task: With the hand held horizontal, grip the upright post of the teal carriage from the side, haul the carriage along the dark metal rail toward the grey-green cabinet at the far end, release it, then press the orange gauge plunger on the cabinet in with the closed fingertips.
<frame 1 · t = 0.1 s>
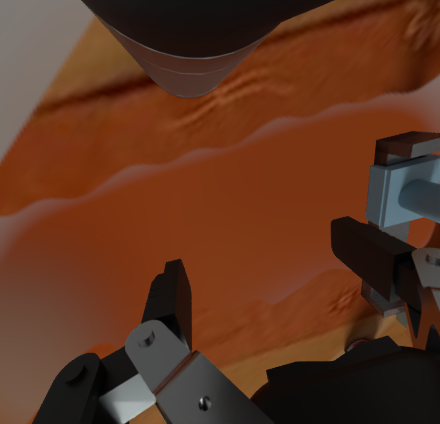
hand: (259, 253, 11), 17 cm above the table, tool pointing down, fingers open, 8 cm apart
rail: (382, 227, 34), on the table
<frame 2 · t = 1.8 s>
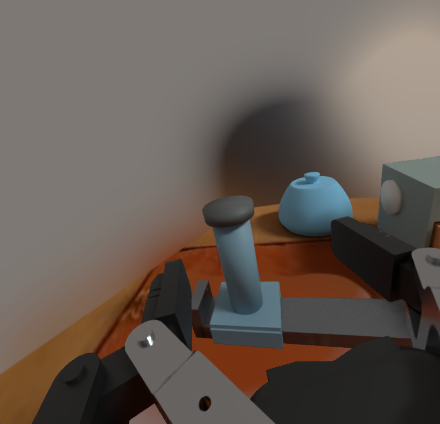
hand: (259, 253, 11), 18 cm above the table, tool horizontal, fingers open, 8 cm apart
carriage: (240, 268, 25), point 9 cm above the table, slide at 0.0 cm
sugar bowl: (313, 223, 49), on the table
rail: (307, 325, 26), on the table
cabinet: (432, 260, 32), on the table
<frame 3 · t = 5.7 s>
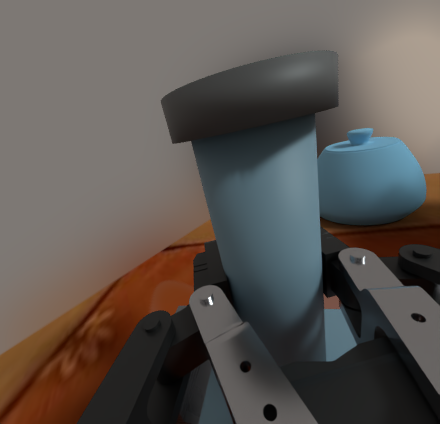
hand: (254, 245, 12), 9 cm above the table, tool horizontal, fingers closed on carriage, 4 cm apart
carriage: (273, 286, 10), point 9 cm above the table, slide at 0.0 cm, touching gripper
sugar bowl: (357, 208, 34), on the table
rail: (434, 421, 11), on the table
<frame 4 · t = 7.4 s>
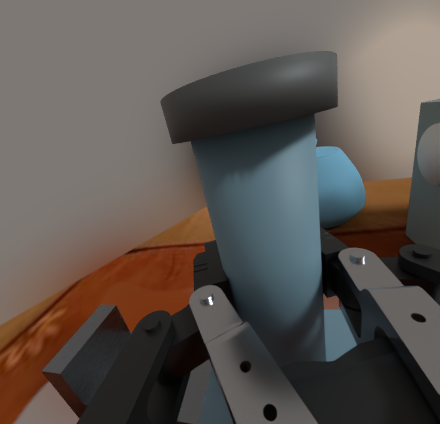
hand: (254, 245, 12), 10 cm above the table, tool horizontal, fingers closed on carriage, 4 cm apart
carriage: (273, 287, 10), point 9 cm above the table, slide at 7.0 cm, touching gripper
sugar bowl: (310, 213, 36), on the table
rail: (291, 402, 13), on the table
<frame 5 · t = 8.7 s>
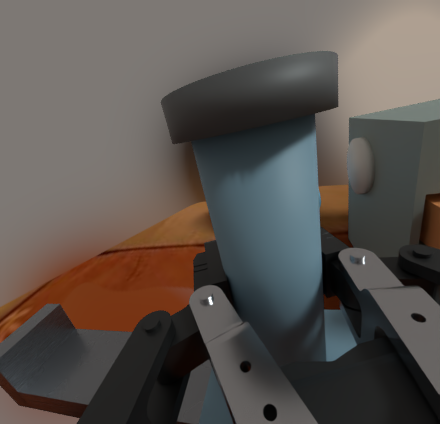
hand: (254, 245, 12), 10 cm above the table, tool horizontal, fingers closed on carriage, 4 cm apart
carriage: (274, 287, 10), point 9 cm above the table, slide at 12.9 cm, touching gripper
rail: (200, 390, 15), on the table
cabinet: (429, 267, 20), on the table
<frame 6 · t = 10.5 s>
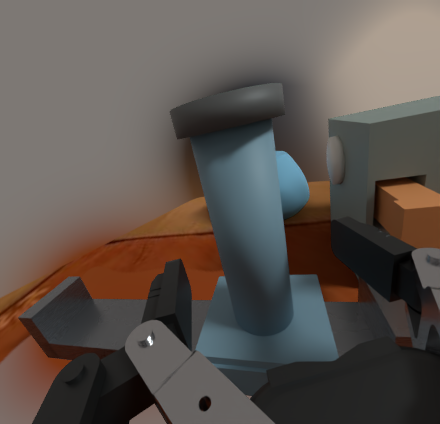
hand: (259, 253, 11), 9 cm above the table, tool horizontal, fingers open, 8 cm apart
plunger: (404, 208, 15), point 8 cm above the table, slide at 0.0 cm
carriage: (251, 247, 13), point 9 cm above the table, slide at 12.9 cm
sugar bowl: (267, 209, 41), on the table
rail: (197, 341, 18), on the table
cabinet: (395, 248, 23), on the table
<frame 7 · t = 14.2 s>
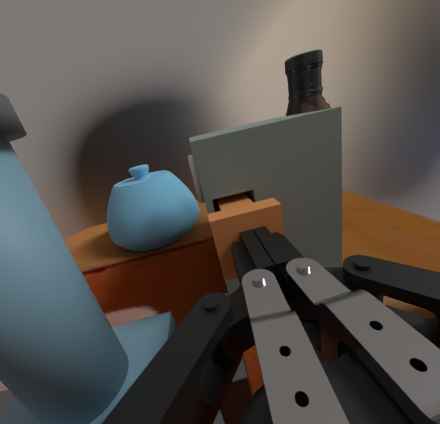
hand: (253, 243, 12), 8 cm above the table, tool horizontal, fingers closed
plunger: (236, 218, 16), point 8 cm above the table, slide at 1.4 cm, touching gripper
carriage: (38, 311, 9), point 9 cm above the table, slide at 12.9 cm
sugar bowl: (161, 232, 38), on the table
sauce bottle: (312, 212, 32), on the table
cabinet: (265, 256, 24), on the table
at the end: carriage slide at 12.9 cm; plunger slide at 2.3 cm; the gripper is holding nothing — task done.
